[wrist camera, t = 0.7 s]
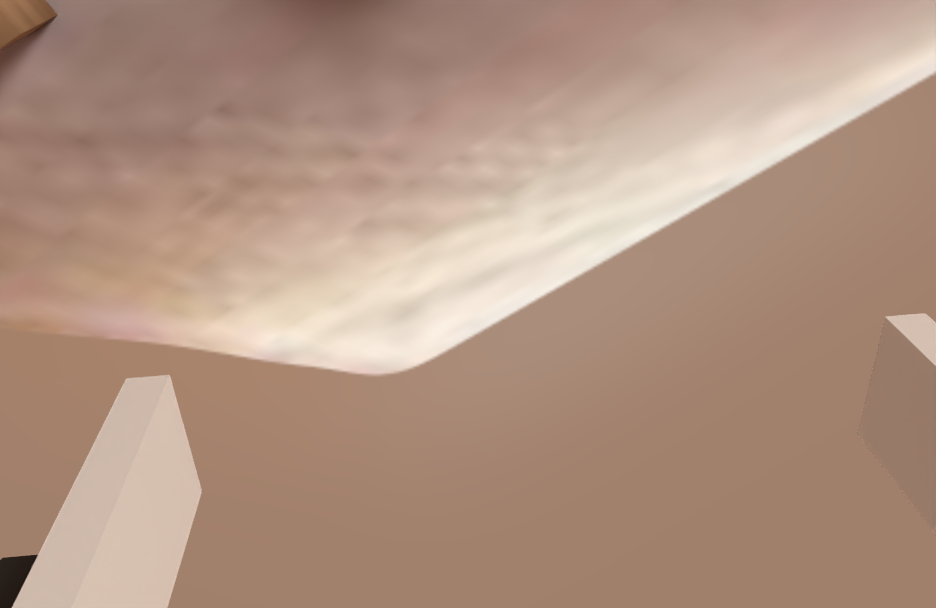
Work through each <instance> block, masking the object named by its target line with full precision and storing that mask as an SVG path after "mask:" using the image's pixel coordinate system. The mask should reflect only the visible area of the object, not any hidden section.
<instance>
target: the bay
mask: <svg viewBox="0 0 936 608" xmlns="http://www.w3.org/2000/svg"><path fill="white" fill-rule="evenodd" d="M56 15H57V14H56V13H55V12H54V10H53V9H52V8H51V7H50V6H49V4H48V3H47V2H46V1H45V0H0V50H2V49H3V48H5V47H7V46H9V45H11V44H13V43H15V42H17V41H18V40H20V39H22V38H24V37H26V36H28V35H30V34H31V33H33V32H34V31H35V30H37V29H38V28H40V27H41V26H42V25H44V24H45V23H47V22H48V21H49V20H51V19H52V18H54V17H55V16H56Z"/></svg>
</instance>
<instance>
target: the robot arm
mask: <svg viewBox="0 0 936 608" xmlns="http://www.w3.org/2000/svg"><path fill="white" fill-rule="evenodd" d="M857 434H858V436H859V437H860V438H861V439H862V441H863V442H864V443H865V445H866V446H867V447H868V449H869V450H870V451H871V452H872V454H873V455H874V456H875V458H876V459H877V460H878V461H879V463H880V464H881V465H882V467H883V468H884V469H885V470H886V472H887V473H888V474H889V476H890V477H891V478H892V479H893V481H894V482H895V483H896V485H897V486H898V487H899V489H900V490H901V491H902V492H903V494H904V495H905V496H906V497H907V499H908V500H909V501H910V503H911V504H912V505H913V507H914V508H915V509H916V510H917V512H918V513H919V514H920V516H921V517H922V518H923V519H924V521H925V522H926V523H927V525H928V526H929V527H930V529H931V530H932V531H933V532H934V533H935V535H936V323H935V322H934V321H933V320H932V319H931V318H930V317H929V316H927V315H926V314H925V313H924V314H912V315H901V316H887V317H885V319H884V323H883V327H882V332H881V336H880V341H879V344H878V349H877V352H876V357H875V361H874V365H873V370H872V374H871V378H870V382H869V387H868V390H867V394H866V398H865V403H864V407H863V411H862V415H861V419H860V424H859V428H858V432H857ZM201 492H202V490H201V487H200V483H199V479H198V476H197V472H196V468H195V465H194V461H193V457H192V454H191V450H190V447H189V443H188V439H187V436H186V432H185V429H184V425H183V421H182V418H181V414H180V411H179V407H178V403H177V400H176V396H175V392H174V389H173V385H172V381H171V378H170V375H163V376H151V377H139V378H127V379H126V380H125V382H124V384H123V386H122V388H121V390H120V392H119V394H118V396H117V398H116V400H115V402H114V404H113V406H112V408H111V410H110V412H109V414H108V416H107V418H106V420H105V422H104V424H103V426H102V428H101V430H100V432H99V434H98V436H97V438H96V440H95V442H94V444H93V446H92V448H91V450H90V452H89V454H88V456H87V458H86V460H85V463H84V465H83V467H82V468H81V470H80V472H79V474H78V476H77V478H76V480H75V482H74V484H73V486H72V488H71V490H70V492H69V494H68V496H67V498H66V500H65V502H64V504H63V506H62V508H61V510H60V512H59V514H58V517H57V518H56V520H55V522H54V524H53V526H52V528H51V531H50V532H49V534H48V537H47V538H46V540H45V542H44V544H43V546H42V548H41V551H40V552H39V554H38V555H30V556H19V557H8V558H2V559H1V560H0V608H167V607H168V603H169V600H170V596H171V593H172V590H173V586H174V583H175V580H176V576H177V573H178V570H179V566H180V563H181V559H182V556H183V553H184V549H185V546H186V543H187V539H188V536H189V533H190V529H191V526H192V523H193V519H194V516H195V512H196V509H197V506H198V502H199V499H200V496H201Z"/></svg>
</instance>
